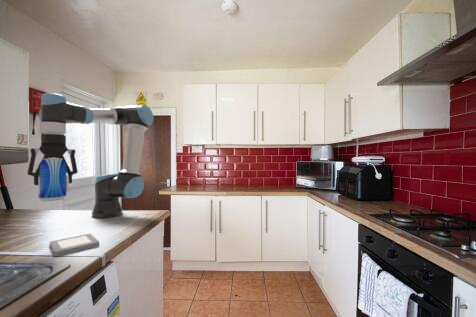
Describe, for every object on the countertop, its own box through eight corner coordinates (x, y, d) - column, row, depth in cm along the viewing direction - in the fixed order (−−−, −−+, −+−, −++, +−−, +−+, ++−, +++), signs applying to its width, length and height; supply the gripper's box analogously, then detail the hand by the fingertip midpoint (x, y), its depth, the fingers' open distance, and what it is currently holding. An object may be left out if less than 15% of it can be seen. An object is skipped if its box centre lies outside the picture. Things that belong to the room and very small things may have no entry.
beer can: (68, 199, 89) (68, 158, 89) (39, 202, 83) (39, 158, 83) (64, 196, 95) (64, 158, 95) (37, 199, 89) (37, 158, 89)
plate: (90, 237, 95) (90, 233, 95) (99, 245, 86) (99, 241, 86) (49, 245, 85) (49, 241, 85) (54, 256, 76) (54, 251, 76)
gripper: (82, 136, 99) (82, 189, 99) (16, 132, 85) (16, 194, 85) (87, 135, 94) (87, 191, 94) (17, 131, 79) (17, 197, 80)
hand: (53, 192), depth 89 cm, fingers closed on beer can, 8 cm apart
